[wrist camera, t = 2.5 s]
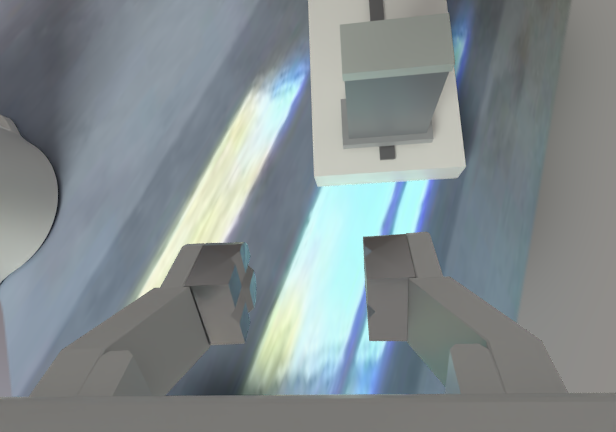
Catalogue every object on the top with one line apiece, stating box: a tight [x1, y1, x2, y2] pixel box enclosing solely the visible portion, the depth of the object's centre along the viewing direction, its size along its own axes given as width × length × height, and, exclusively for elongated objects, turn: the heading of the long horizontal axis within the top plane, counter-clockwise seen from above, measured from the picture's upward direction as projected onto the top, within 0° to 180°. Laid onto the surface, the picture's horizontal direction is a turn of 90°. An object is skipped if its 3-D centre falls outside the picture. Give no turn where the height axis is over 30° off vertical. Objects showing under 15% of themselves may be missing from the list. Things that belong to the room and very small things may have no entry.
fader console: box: [308, 0, 466, 187], centre depth 38 cm, size 26×12×3 cm, turn 2°
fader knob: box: [340, 13, 455, 149], centre depth 29 cm, size 4×7×10 cm, turn 92°
